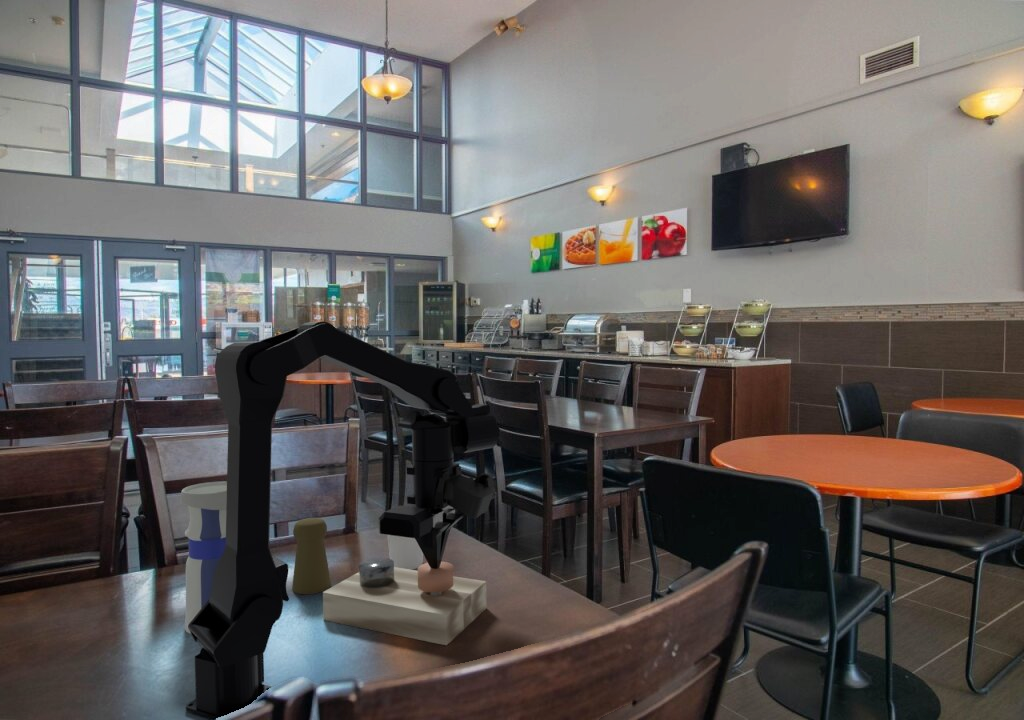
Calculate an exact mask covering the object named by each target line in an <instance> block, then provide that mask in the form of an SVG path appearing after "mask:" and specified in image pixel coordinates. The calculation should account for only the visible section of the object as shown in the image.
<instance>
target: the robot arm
mask: <svg viewBox="0 0 1024 720" xmlns="http://www.w3.org/2000/svg"><path fill="white" fill-rule="evenodd" d="M318 359H321V360H323V361H326V362H329V363H331V364H333V365H336V366H338V367H340V368H342V369H345V370H347V371H349V372H351V373H353V374H357V375H359V376H361V377H364V378H366V379H368V380H370V381H373V382H375V383H378V384H381V385H383V386H385V387H386V388H387V389H389V390H390V391H391V392H392V393H393V394H394V395H395V396H396V397H397V398H399V399H400V400H401V401H403V402H404V403H405V404H407V405H409V406H410V407H412V408H414V409H421V410H426V411H428V412H429V413H428V414H422V413H421V412H419V411H416V410H408V412H407V414H406V415H405V417H403V418H402V419H401V420H400V421H399V422H398V423H397V427H398V428H399V429H404V430H410V431H411V441H412V443H411V447H412V464H411V465H408V466H406V475H411V476H412V490H413V492H412V494H410V495H407V497H406V500H407V501H406V503H407V504H409V505H415V506H407V505H397V506H395V507H393V508H390V509H387V510H386V511H384V512H383V513H382V514H381V515H380V516H379V518H378V532H379V534H380V535H386V536H387V535H393V536H401V537H408V538H415V540H416V541H417V543H418V545H419V547H420V549H421V550H422V552H423V557H424V559H425V560H426V563H428V564H429V566H430V568H433V569H437V568H439V567H440V564H441V561H442V560H443V556H444V554H445V553H444V552H445V549H446V545H447V542H448V538H449V535H450V533H451V530H452V527H453V526H454V525H455V524H457V523H458V522H459V521H460V520H461V519H463V517H464V516H466V517H467V518H470V519H477V518H479V517H480V516H481V515H483V514H486V513H487V512H488V511H489V507H490V503H491V500H494V499H495V498H496V497H497V495H496V493H495V491H496V488H495V486H494V485H495V484H494V477H493V476H492V475H490V474H488V473H486V472H483V473H481V474H479V475H478V476H477V477H476V478H475V479H474V476H470V477H467V476H464V475H463V474H462V466H461V465H460V462H459V463H457V462H454V452H455V453H457V454H465V453H466V454H467V453H471V452H476V451H482V450H489V449H493V448H494V447H495V446H496V445H497V443H498V442H499V440H500V426H499V425H498V422H497V419H496V417H495V416H494V415H493V414H492V412H491V410H490V409H491V408H490V404H486V403H485V404H484V403H477V404H473V405H472V404H471V403H470V402H469V400H468V398H467V397H466V395H465V394H464V392H463V391H462V389H461V387H460V384H459V381H458V379H459V378H458V376H457V375H456V374H455V373H454V372H453V371H452V370H449V369H445V368H441V367H436V366H433V365H427V364H421V363H415V362H411V361H407V360H405V359H403V358H400V357H399V356H397V355H394V354H392V353H390V352H387V351H386V350H383V349H382V348H379V347H377V346H375V345H372V344H371V343H368V342H367V341H365V340H362V339H359V338H358V337H356V336H354V335H352V334H349V333H347V332H345V331H343V330H340V329H339V328H337V327H335V326H334V325H333V324H332V323H330V322H327V321H325V320H324V321H310V322H304V323H302V324H300V325H299V326H298V327H295V328H292V329H290V330H288V331H285V332H282V333H279V334H275V335H273V336H270V337H267V338H263V339H261V340H259V341H237V342H233V343H230V344H229V345H226V346H225V347H224V348H223V349H222V350H221V351H220V352H218V353H217V356H216V358H215V362H214V372H215V380H216V387H217V391H218V396H219V399H220V402H221V405H222V407H223V411H224V414H225V417H226V418H227V419H226V420H227V459H226V461H227V463H226V464H227V466H226V468H227V469H226V471H227V472H226V481H227V504H226V544H225V549H224V552H223V554H222V556H221V558H220V560H219V563H218V565H217V567H216V569H215V573H214V578H213V583H212V588H211V593H210V599H209V600H208V601H207V603H206V604H205V605H204V606H203V607H202V609H201V610H200V611H199V612H198V614H197V615H196V616H195V617H194V619H193V620H192V621H191V622H190V623H189V625H188V629H189V631H190V633H191V634H190V635H191V637H192V639H193V640H194V641H195V642H196V643H198V644H199V646H200V647H201V649H200V651H199V653H198V654H197V655H195V656H194V679H195V680H194V681H195V686H194V687H195V699H192V701H190V702H188V703H186V705H185V711H186V712H188V713H191V714H195V715H198V716H202V717H205V718H208V719H211V720H215V719H216V718H218V717H221V716H224V715H227V714H229V713H231V712H234V711H236V710H239V709H241V708H244V707H245V706H247V705H249V704H251V703H252V702H253V701H254V700H256V699H257V697H258V696H260V695H261V694H262V693H264V692H265V691H266V690H268V689H269V688H271V687H272V686H271V685H270V686H269V685H268V684H267V685H266V684H263V683H264V682H265V667H264V666H265V665H264V663H265V662H264V653H265V652H266V648H267V646H268V642H269V639H270V635H271V633H272V629H273V626H274V624H275V623H276V622H277V621H278V620H280V618H281V616H282V613H283V607H284V601H285V602H288V601H289V600H290V598H289V594H288V592H287V591H288V590H287V582H288V577H289V564H288V563H287V562H284V561H283V560H282V559H279V558H278V557H276V556H274V555H272V552H271V548H270V532H271V531H270V524H271V521H270V520H271V487H272V486H271V482H272V478H271V477H272V470H271V469H272V443H273V442H272V435H273V433H272V430H273V421H274V419H275V416H276V414H277V412H278V411H279V407H280V406H281V404H282V401H283V398H284V395H285V389H286V385H287V379H288V376H290V375H292V374H294V373H296V372H299V371H301V370H303V369H305V368H306V367H308V366H309V365H311V364H312V363H314V362H315V361H316V360H318ZM441 415H445V418H443V417H442V416H441ZM456 510H457V511H459V512H461V513H456ZM442 562H443V561H442Z"/></svg>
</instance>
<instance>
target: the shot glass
mask: <svg viewBox="0 0 1024 720" xmlns="http://www.w3.org/2000/svg"><path fill="white" fill-rule="evenodd" d="M386 539H387V544H388V545H387V546H388V553H389V559H391V560H393V561H394V567H397V568H403V569H410V570H417V569H418V567H419V566H420V565H422V564H424V563H423V562H424V561H423V560H424V554H423V552H422V550H421V549H420V547H419V545H418V543H417V541H416V540H415V538H408V537H401V536H393V535H386Z"/></svg>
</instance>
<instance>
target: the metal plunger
mask: <svg viewBox="0 0 1024 720" xmlns="http://www.w3.org/2000/svg"><path fill="white" fill-rule="evenodd" d="M358 569H359V571H358V572H359V574H360V584H361V585H363V586H366V587H380V586H385V585H388V584H390V583H392V582H393V581H394V561H393V560H391V559H390V557H389V558H387V557H374V558H373V557H372V558H368V559H366V560H365V559H364V560H363V561H361V562H360V563H359V564H358Z"/></svg>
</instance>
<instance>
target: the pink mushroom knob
mask: <svg viewBox="0 0 1024 720" xmlns="http://www.w3.org/2000/svg"><path fill="white" fill-rule="evenodd" d="M417 571H418V588H419V589H420V590H422V591H425V592H430V595H434V596H440V595H441V594H442V591H445V590H448V589H450V588H451V587H453V576H454V565H453V564H452V563H451V562H447V561H441V564H440V567H439V568H437V569H433V568H430V566H429V564H428V562H425V563H423V564H422V565H420V566H419V567H418V568H417Z"/></svg>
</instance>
